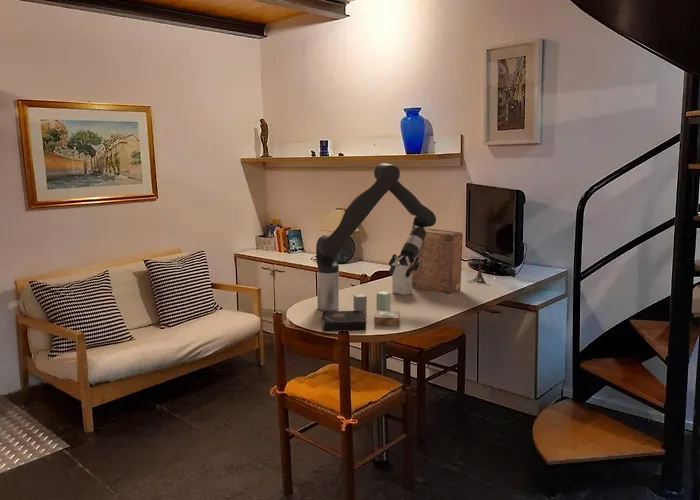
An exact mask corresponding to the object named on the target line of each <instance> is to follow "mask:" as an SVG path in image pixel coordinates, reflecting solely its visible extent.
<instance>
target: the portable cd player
mask: <svg viewBox="0 0 700 500" xmlns="http://www.w3.org/2000/svg"><path fill="white" fill-rule="evenodd" d="M321 323H322V330H323V331H324V332H342V331H341V330H347V331H346V332H351V331H353V332H354V331H366V330H367V321H366V317H364V316H363V313H362V311H354V310H334V311H323V310H322V313H321Z"/></svg>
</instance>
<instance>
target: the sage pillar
mask: <svg viewBox="0 0 700 500" xmlns="http://www.w3.org/2000/svg"><path fill="white" fill-rule="evenodd" d="M391 298H392V293H391V292H389V291H385V290H384V291H383V290H381V291H379V292H376V304H375V305H376V310H377V311H392V310H391V308H392V307H391V304H392V299H391ZM376 310H375V311H376Z"/></svg>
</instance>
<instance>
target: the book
mask: <svg viewBox="0 0 700 500" xmlns="http://www.w3.org/2000/svg"><path fill="white" fill-rule="evenodd" d="M423 229H425V231H426V236H425V238H424V240H423V243H422V246H421V248H420V250H419V252H418V254H417V257H419V259H420V264H419V266H418V269H417V271H415V270H413V271H412V288H418V289H419V288H420V289H424V290H429V291H434V292H435V291H436V292H440V293H445V294H453V293H456V292H459V291H461V286H462V285H461V282H462V262H463V261H462V257H463V237H464V236H463V235H464V233H463V232H460V231H459V232H458V231H451V230H444V229H443V230H442V229H434V228H428V227H424V228H423ZM411 231H412V229H411ZM411 231H410V232H411ZM417 257H416V258H417ZM414 262H415V261H414ZM414 262H413V263H412V267H413V265H414Z"/></svg>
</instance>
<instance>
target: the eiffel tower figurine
mask: <svg viewBox="0 0 700 500" xmlns="http://www.w3.org/2000/svg"><path fill="white" fill-rule="evenodd" d="M481 263H482V260H481V259H480V260H479V266H478V272H477V275H476V277H475V278H472V279H470V280H468V281H467V283H469V284H475V283H476V286H477V285H479V286H480V284H482V283H485V284H486V283H487V282H486V281H485V279H484V277H483V274H482V264H481Z"/></svg>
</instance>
